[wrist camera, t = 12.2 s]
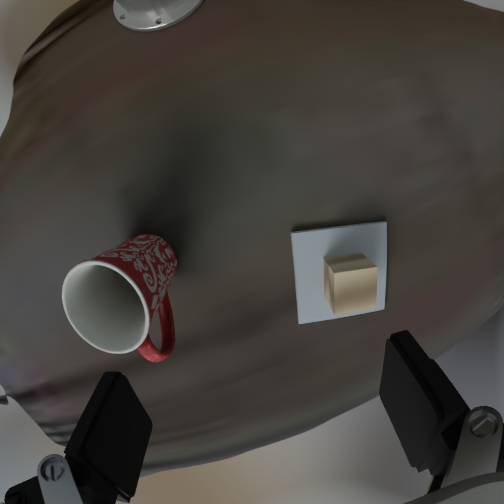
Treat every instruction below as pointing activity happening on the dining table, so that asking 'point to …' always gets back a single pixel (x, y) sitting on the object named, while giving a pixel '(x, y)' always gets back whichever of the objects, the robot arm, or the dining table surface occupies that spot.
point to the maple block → (350, 283)
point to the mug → (124, 297)
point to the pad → (331, 245)
